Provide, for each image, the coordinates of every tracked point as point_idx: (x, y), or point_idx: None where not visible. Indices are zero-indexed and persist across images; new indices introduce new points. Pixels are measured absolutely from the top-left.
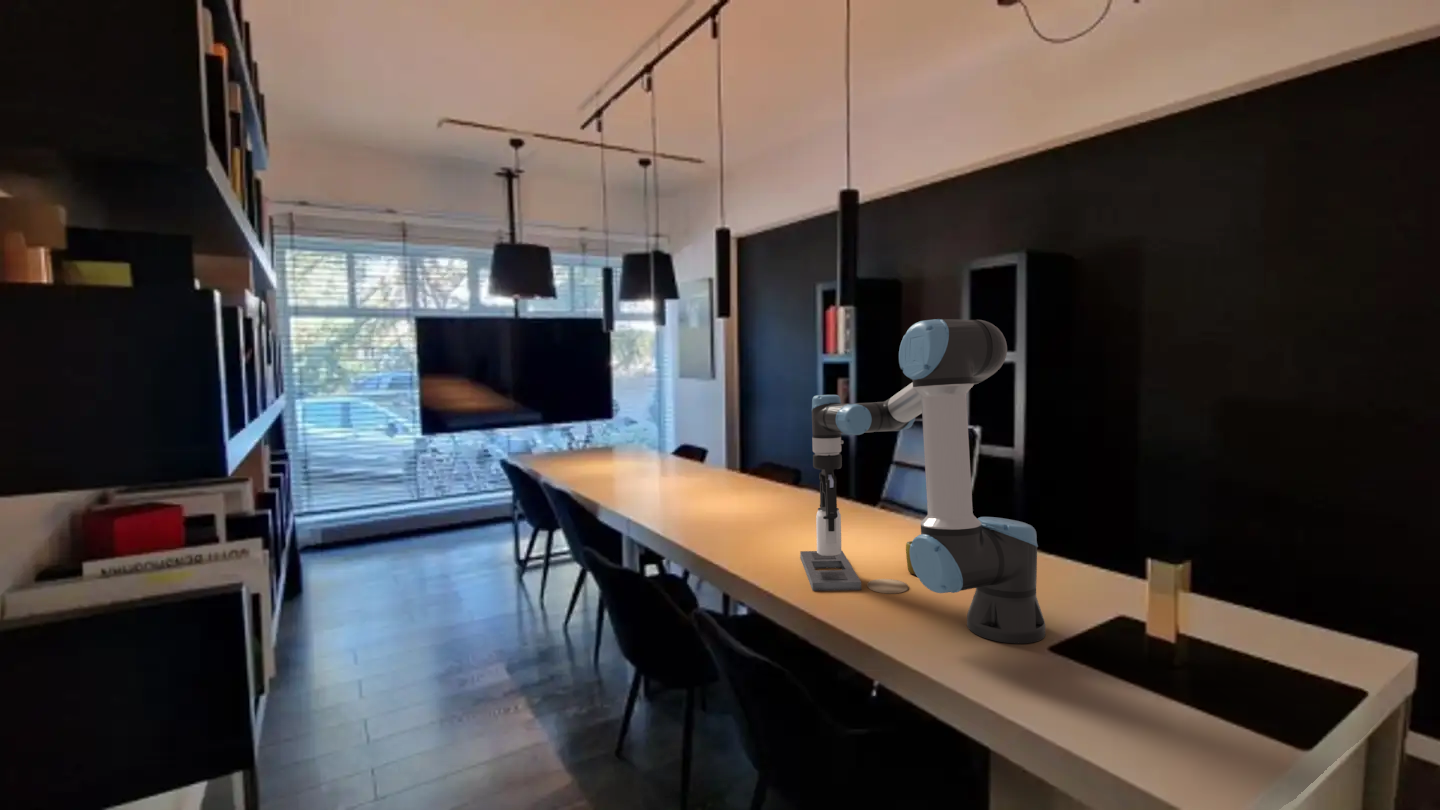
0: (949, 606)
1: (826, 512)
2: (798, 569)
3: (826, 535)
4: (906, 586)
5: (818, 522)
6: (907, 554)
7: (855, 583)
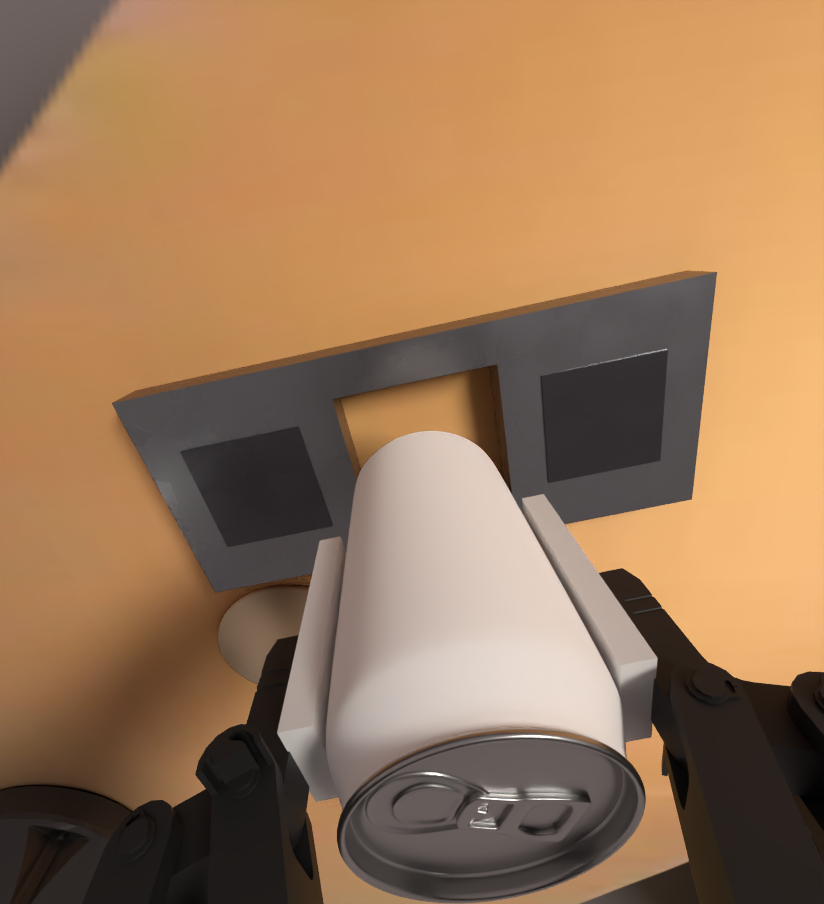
0: (171, 759)
1: (211, 856)
2: (469, 281)
3: (311, 586)
4: None
5: (379, 600)
6: None
7: (207, 570)
